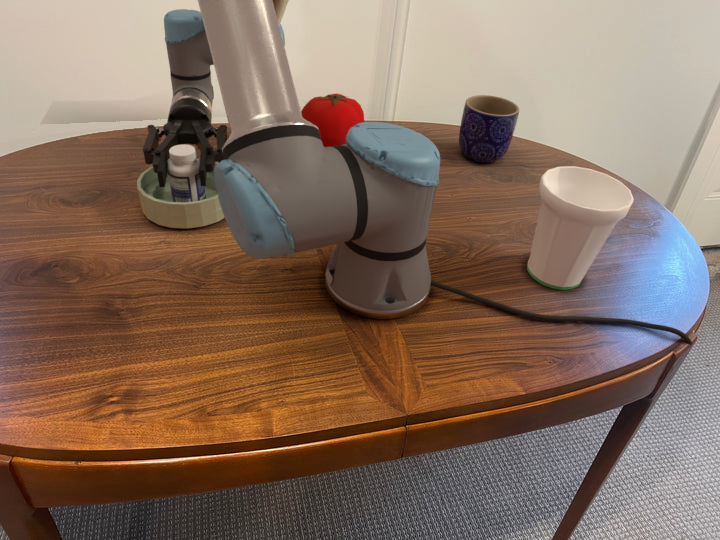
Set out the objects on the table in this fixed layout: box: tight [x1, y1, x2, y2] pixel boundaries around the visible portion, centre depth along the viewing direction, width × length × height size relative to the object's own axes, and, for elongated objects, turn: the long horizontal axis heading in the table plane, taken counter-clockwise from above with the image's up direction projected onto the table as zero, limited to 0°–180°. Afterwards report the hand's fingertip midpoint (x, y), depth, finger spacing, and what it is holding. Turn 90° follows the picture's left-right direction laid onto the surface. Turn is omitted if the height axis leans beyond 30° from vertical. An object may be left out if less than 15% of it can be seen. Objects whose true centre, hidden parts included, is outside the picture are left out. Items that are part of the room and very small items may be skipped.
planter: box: [458, 94, 520, 164], centre depth 111 cm, size 11×11×11 cm
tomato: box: [301, 93, 365, 147], centre depth 107 cm, size 12×13×12 cm
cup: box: [526, 165, 635, 291], centre depth 79 cm, size 12×12×15 cm
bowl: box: [136, 157, 225, 230], centre depth 89 cm, size 15×15×5 cm
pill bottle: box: [167, 144, 206, 202], centre depth 87 cm, size 5×5×10 cm
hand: (181, 178), depth 82 cm, fingers closed on pill bottle, 5 cm apart
